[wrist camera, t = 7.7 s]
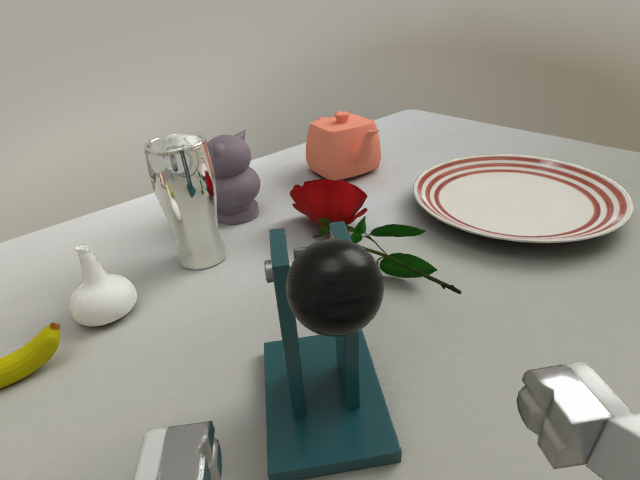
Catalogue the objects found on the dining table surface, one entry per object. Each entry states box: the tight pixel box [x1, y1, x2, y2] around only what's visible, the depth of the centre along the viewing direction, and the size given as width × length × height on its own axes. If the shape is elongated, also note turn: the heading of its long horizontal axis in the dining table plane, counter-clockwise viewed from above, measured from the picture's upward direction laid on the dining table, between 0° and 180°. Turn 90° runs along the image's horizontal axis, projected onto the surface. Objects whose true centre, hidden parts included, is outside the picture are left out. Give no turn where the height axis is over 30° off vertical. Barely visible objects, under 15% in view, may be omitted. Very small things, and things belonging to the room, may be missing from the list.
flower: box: [290, 179, 461, 294], centre depth 47 cm, size 9×10×30 cm
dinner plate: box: [413, 154, 633, 243], centre depth 58 cm, size 28×27×3 cm
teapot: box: [306, 111, 381, 180], centre depth 71 cm, size 12×18×10 cm, turn 31°
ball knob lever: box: [286, 239, 384, 337], centre depth 20 cm, size 14×4×4 cm, turn 8°
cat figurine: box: [207, 130, 260, 225], centre depth 59 cm, size 9×8×12 cm
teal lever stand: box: [264, 221, 402, 480], centre depth 29 cm, size 12×9×15 cm
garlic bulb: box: [69, 244, 137, 326], centre depth 42 cm, size 6×6×8 cm
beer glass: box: [144, 133, 227, 270], centre depth 48 cm, size 7×7×15 cm
